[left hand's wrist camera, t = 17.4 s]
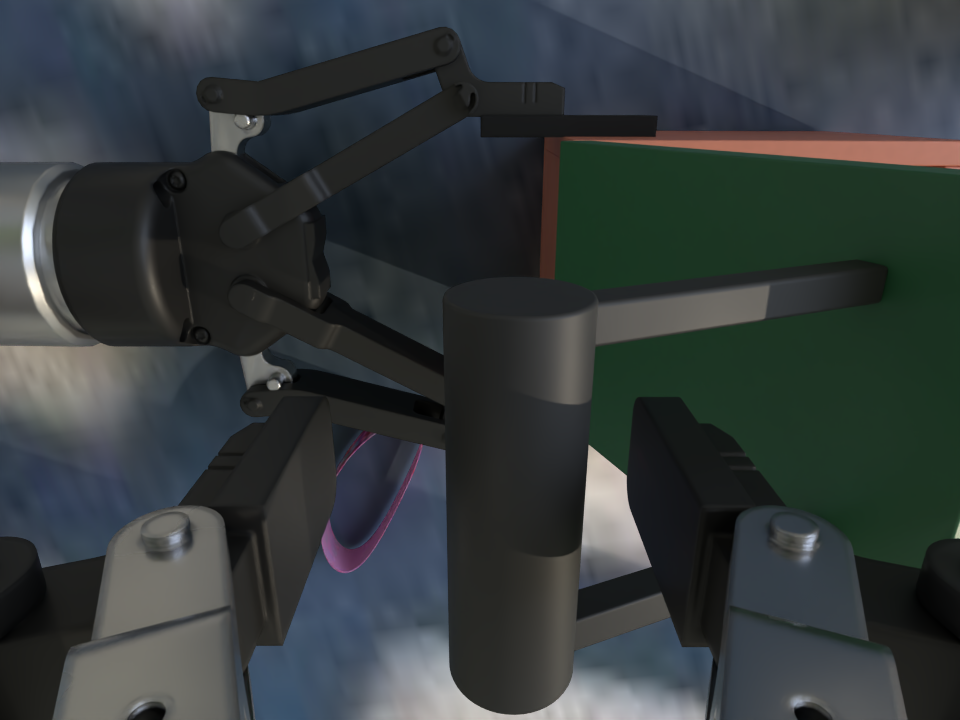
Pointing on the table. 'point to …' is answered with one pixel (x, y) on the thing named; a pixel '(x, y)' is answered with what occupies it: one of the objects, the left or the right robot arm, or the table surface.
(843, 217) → the lid
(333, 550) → the headband
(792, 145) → the chest
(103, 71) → the table surface
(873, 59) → the table surface
